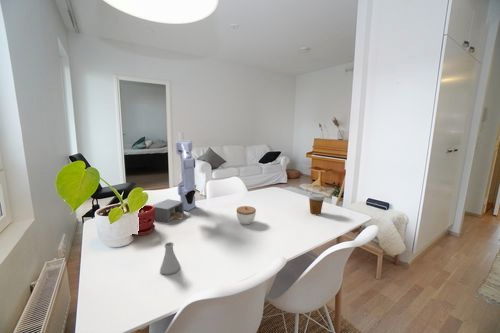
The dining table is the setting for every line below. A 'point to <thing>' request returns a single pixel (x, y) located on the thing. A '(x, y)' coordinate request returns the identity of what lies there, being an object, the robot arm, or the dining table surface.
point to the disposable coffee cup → (316, 203)
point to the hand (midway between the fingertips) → (190, 203)
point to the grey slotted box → (167, 209)
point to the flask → (169, 261)
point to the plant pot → (146, 219)
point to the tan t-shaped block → (175, 214)
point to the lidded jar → (246, 214)
